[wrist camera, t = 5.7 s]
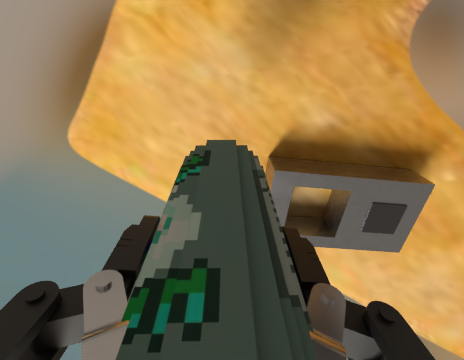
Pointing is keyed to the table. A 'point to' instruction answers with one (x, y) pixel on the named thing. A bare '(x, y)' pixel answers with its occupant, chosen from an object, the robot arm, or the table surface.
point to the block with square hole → (351, 202)
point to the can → (218, 270)
